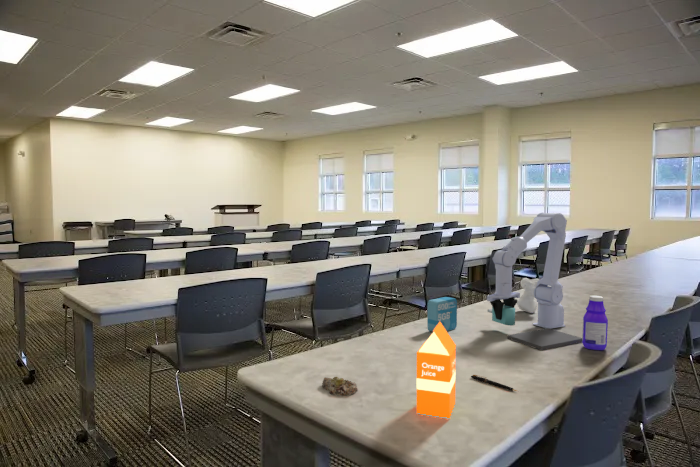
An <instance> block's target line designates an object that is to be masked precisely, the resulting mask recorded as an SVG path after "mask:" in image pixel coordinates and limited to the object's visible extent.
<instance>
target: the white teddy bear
mask: <svg viewBox="0 0 700 467" xmlns="http://www.w3.org/2000/svg"><path fill="white" fill-rule="evenodd" d="M540 279H541V278H540ZM540 279H539V278H532V279H530V278H527V277H523V278H522V279H521V280H520V286H521V288H522V289H524V291H523V293H522V295H520V298H517V303H516V305H517V307H518V308H519V309H520V310H521V311H524V312H526V313H529V314H534V313H535V312H536V311H537V309H538V302H537V299H536V298H535V297H534V289H535V287H536V286H537V282H538V281H539V280H540Z"/></svg>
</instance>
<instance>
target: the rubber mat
mask: <svg viewBox="0 0 700 467" xmlns="http://www.w3.org/2000/svg"><path fill="white" fill-rule="evenodd" d="M507 339H509V340H511V341H514V342H517V343H520V344H522V345H523V344H524V345H526V346H529V347H532V348H535V349H537V350H540V351H543V350H548V349H554V348H559V347H564V346H570V345H574V343H575V344H579V342H580V343H582V337H580V336H576V335H572V334H569V333H567V332H566V333H565V332H563V331H559V330H556V329H554V328H552V329H549V328H541V329H535V330H530V331H524V332H523V331H522V332H518V333H513V334H508V335H507Z"/></svg>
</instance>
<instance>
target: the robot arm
mask: <svg viewBox="0 0 700 467" xmlns="http://www.w3.org/2000/svg"><path fill="white" fill-rule="evenodd" d="M567 221H568V220H567V218H566V217H565V216H564V214H562V213H561V212H555V213H554V212H551V213H550V212H549V213H548V212H540V213H538V214H537V215H536V216H535V217H533V221H532V223H531V224H530V225H529V226H528V227H527V228H526V229H524V232H522V234H520V235H519V236H515V237H511V239H510V241H509V242H508V243H506V245H504V246H503V247H502V249H498V250H496V251H495V253H494V255H493V257H492V261H493V264H494V269H495V292H494V293H492V294H488V295H486V301H487V302H489V303H490V305H491V308H492V307H493V309H494V312H495V316H496V319H499V320H501V319H502V310H503V306H504V305H506V306H510V307H514V308H515V306H516V305H517V300H518V299H519V298H520V297H521V292H518V291H513V288H512V286H513V266H514V265H515V264H516V261H517V258H518V256H520V255H521V253H523V252H524V251H525V250H526V249H527V247H528V243H529V242H530V241H531V240H532V239H533V238H535V237H536V236H537V235H538V234H540V233H541V232H544V234H546V235H547V236H548V238H549V240H548V247H547V253H546V256H545V257H546V258H545V264H544V269H543V274H542V278H540V280H539V281H538V282H537V286H536V287H535V289H534V297H535V298H534V299H535V300H536V301H537V322H533V323H532V325H534V326H537V327H540V328H542V329H546V328H549V329H556V328H563V327H564V328H565V327H566V324H564V322H565V320H564V319H565V309H564V306H563V305H562V304H561V302H562V301H563V298H564V292H563V289H564V287H563V283H561V282H560V280H559V276H560V271H561V264H562V261H563V260H562V259H563V253H564V248H565V242H566V235H567V233H566V232H567V231H566V228H567ZM512 291H513V292H512Z"/></svg>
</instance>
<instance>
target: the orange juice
mask: <svg viewBox="0 0 700 467" xmlns="http://www.w3.org/2000/svg"><path fill="white" fill-rule="evenodd" d="M433 331H434V332H431V334H430V335H429V337H428V338H427V339H426V340H425V341H424V342H423V344H421V347H420V348H419V349H418V351H416V414H417V413H420V414H426V415H432V416H439V417H447V418H450V419H451V417H450V416H452V414H451V413H453V411H454V409H453V408H455V406H454V405H456V380H457V379H456V376H457V375H456V372H457V371H456V369H457V368H456V360H457V359H456V355H457V354H456V353H457V352H456V349H457V348H456V347H457V344H456V343H455V342H454V340H453V339H452V337H451V336H450V334H449V333H448V331H446V330H445V328H444V327H443V325H442V324H441V322H439V323H438V325H437V326H436V327H435V329H434V330H433ZM452 410H453V411H452Z"/></svg>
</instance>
